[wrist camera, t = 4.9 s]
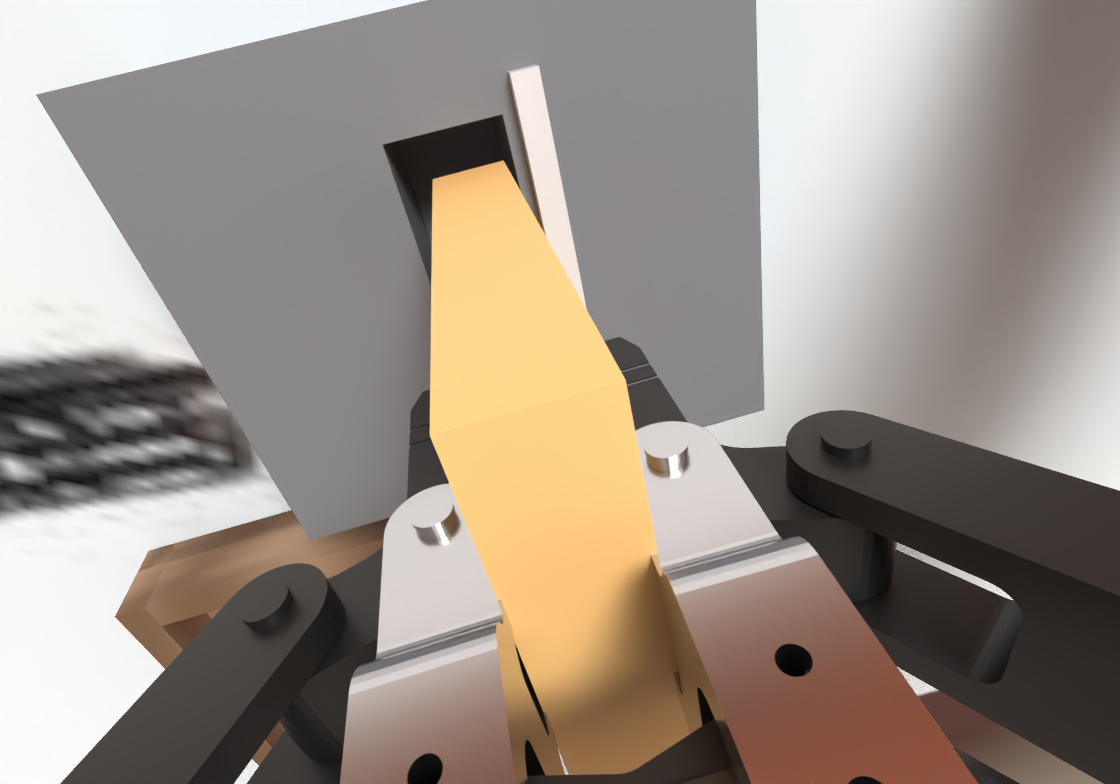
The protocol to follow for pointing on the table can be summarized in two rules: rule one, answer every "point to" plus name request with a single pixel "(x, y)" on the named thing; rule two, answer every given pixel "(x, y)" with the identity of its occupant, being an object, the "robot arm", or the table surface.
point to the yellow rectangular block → (548, 475)
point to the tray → (228, 579)
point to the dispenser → (406, 207)
